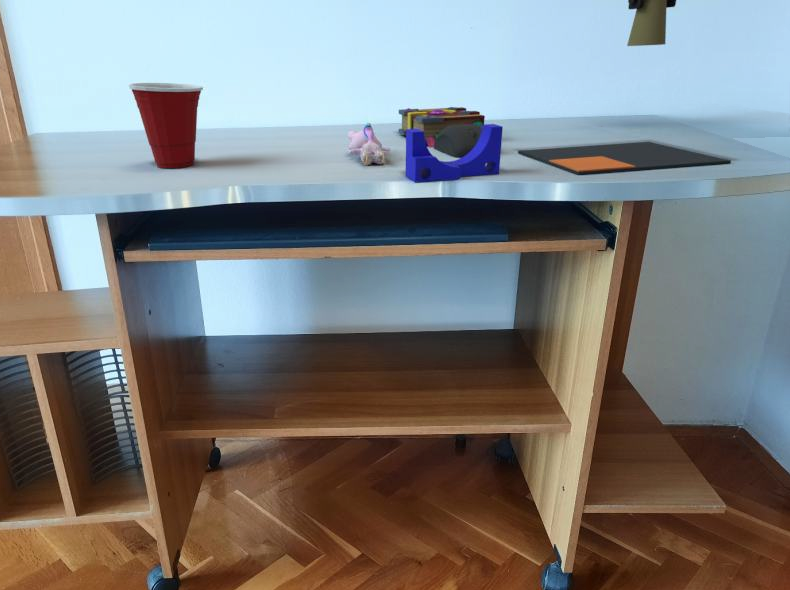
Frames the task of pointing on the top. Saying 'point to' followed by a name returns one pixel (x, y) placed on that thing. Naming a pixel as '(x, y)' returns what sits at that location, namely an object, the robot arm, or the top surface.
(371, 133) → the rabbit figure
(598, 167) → the desk mat
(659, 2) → the cork
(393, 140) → the top surface
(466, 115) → the decorative book
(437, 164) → the blue cradle bracket
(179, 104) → the plastic cup
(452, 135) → the computer mouse
